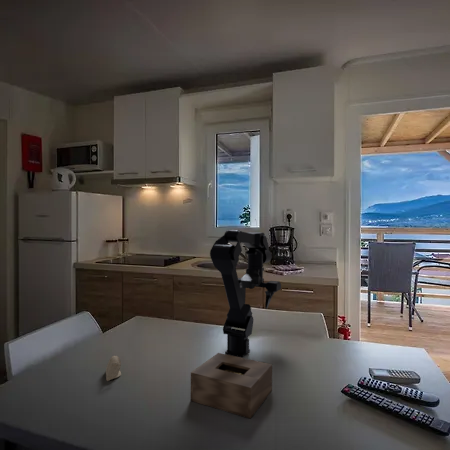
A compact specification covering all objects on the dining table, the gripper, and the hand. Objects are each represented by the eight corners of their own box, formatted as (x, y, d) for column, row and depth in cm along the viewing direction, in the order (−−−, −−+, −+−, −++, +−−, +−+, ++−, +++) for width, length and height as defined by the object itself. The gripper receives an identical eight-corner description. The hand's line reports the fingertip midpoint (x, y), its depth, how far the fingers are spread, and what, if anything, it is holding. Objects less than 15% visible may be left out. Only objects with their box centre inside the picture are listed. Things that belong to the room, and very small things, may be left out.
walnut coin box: (190, 400, 82) (190, 372, 82) (218, 377, 95) (218, 352, 95) (250, 418, 75) (250, 387, 75) (271, 391, 87) (272, 364, 87)
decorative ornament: (120, 369, 100) (120, 351, 100) (121, 381, 92) (121, 362, 92) (105, 371, 99) (105, 352, 99) (106, 383, 91) (106, 364, 91)
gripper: (223, 266, 123) (222, 308, 123) (271, 270, 115) (271, 315, 115) (236, 263, 133) (236, 302, 133) (281, 266, 124) (281, 308, 125)
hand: (254, 307), depth 126 cm, fingers open, 9 cm apart
